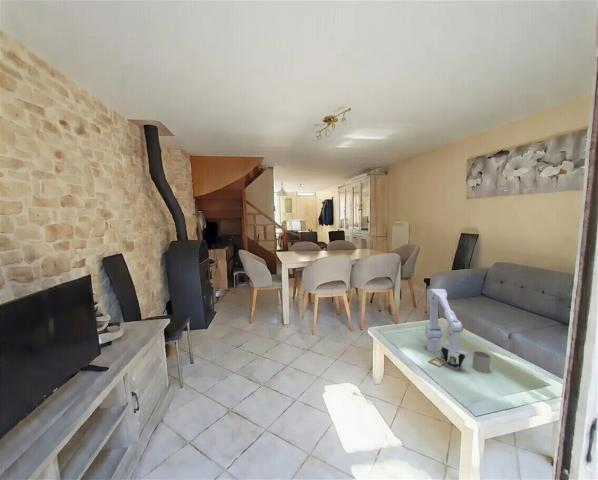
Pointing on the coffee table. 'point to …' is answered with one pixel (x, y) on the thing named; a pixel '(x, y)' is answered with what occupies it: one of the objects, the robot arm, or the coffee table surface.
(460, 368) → the cradle
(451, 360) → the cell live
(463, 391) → the coffee table surface
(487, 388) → the coffee table surface
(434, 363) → the tray
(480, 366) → the cup
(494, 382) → the coffee table surface
